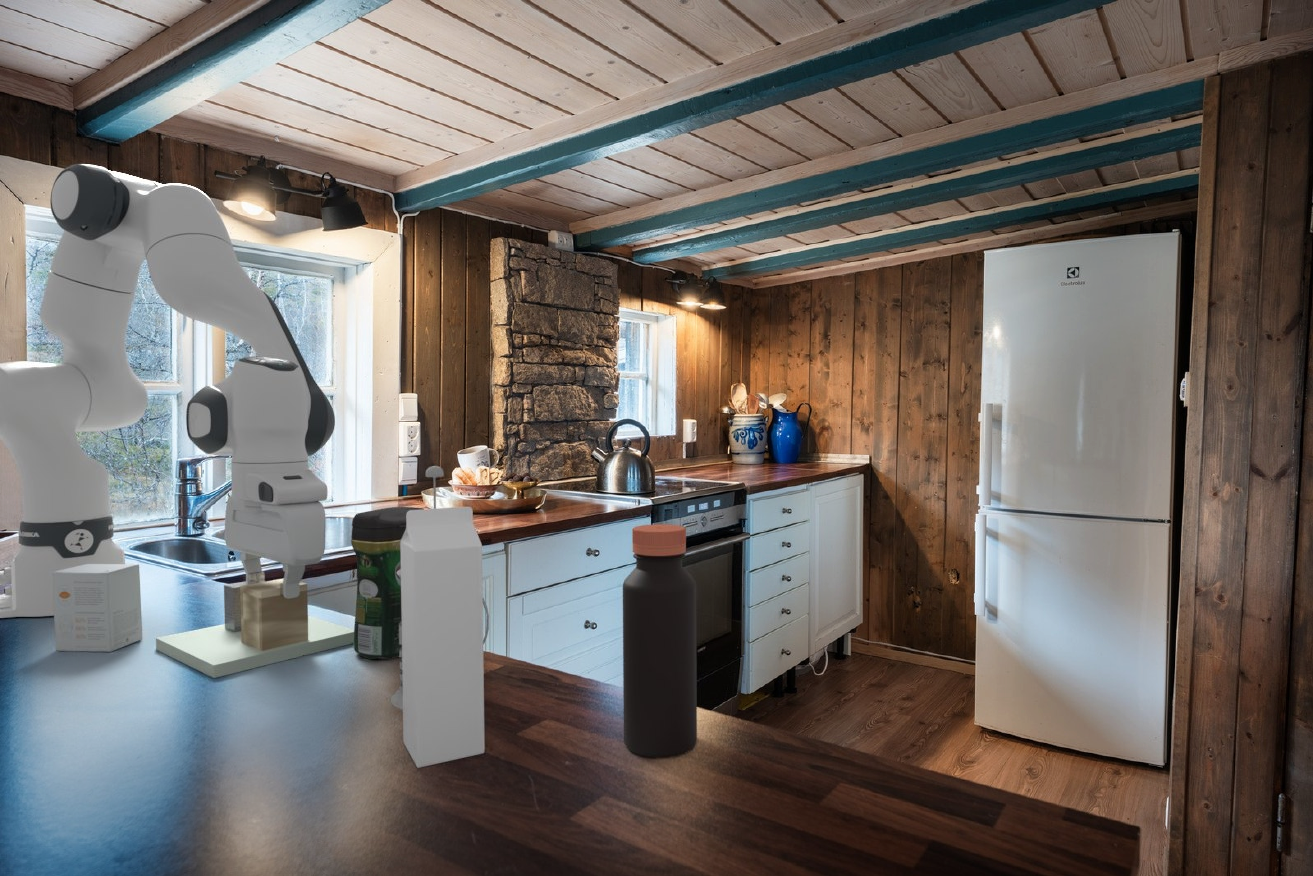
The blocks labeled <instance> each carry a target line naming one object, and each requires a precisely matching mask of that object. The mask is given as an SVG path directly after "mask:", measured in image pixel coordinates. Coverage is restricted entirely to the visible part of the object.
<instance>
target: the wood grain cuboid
mask: <svg viewBox="0 0 1313 876" xmlns="http://www.w3.org/2000/svg"><path fill="white" fill-rule="evenodd" d="M283 580H284V577H283V578H277V579H273V580H267V581H266V580H265V582H260V583H254V584H248V585H242V586H240V595H241V641H242V643H244V644H247V645H249V646H252V647H254V648H257V649H259V650H261V651H264V650H268V649H273V648H277V647H281V646H285V645H289V644H294V643H298V642H302V641H306V640H308V615H309V612H308V611H309V609H308V608H309V604H308V602H309V601H308V583H306V582H303V581H300V594H299V596H298V597H295V598H290V599H287V598H284V597H282V596H281V595H280V583H283Z"/></svg>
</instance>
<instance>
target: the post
mask: <svg viewBox="0 0 1313 876" xmlns="http://www.w3.org/2000/svg"><path fill="white" fill-rule="evenodd" d="M242 585H247V584H246V580H245V581H241V582H234V583H228V584H223V598H224V599H223V605H224V608H223V611H224V624H225V629H227V630H230V631H232V632H239V631H241V595H240V586H242Z"/></svg>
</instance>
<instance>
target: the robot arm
mask: <svg viewBox="0 0 1313 876" xmlns="http://www.w3.org/2000/svg"><path fill="white" fill-rule="evenodd" d="M49 201H50V202H49V203H50V210H51V214H52V216H53V218H54V219H55V222H56V224H57V225H58V226H59V227H60V228H61V229H62V230H64V231H63V233H62V235H61V237H60V239H59V242H58V245H57V246H56V250H55V251H54V255H53V258H52V262H51V265H50V269H49V273H48V277H47V281H46V285H45V290H44V294H43V297H42V301H41V305H40V309H39V312H38V313H39V319H40V321H41V324H42V325H43V327H44V328H45V329H46V331H48V332H49V333H50V334H51V335H52V336H54V337H55V338H57V339H58V340H60V342H61V344H62V350H63V352H62V354H63V355H62V359H61V361H60V363H57V362H45V361H44V362H43V361H42V362H41V361H29V360H28V361H25V360H19V361H7V362H0V441H1V443H3V444H4V446H5V447H6V449H8V451H9V453H10V455H11V456H12V458H13V461H14V463H15V465H16V468H17V471H18V476H19V482H20V491H21V503H22V506H21V507H22V521H20V522H19V529H18V533H17V534H18V544H20V547H19V549H18V551H17V553H16V555H15V556H14V557H13V559H12V560H11V561H10V566H9V567H3V568H4V569H3V570H0V586H5V587H4V588H3V594H0V619H4V618H16V617H19V618H21V617H25V618H26V617H28V618H29V617H34V618H35V617H50V616H51V617H53V616H54V601H53V577H52V573H53V572H55V571H59V570H63V569H68V568H72V567H76V566H80V565H85V564H126V559H125V558H126V557H125V549H124V548H123V547H121V546H120V545H117V544H116V543H115V542H114V541H113V537H114V528H115V526H114V525H115V523H114V520H113V519H114V518H113V516H112V515H111V514H110V489H109V488H110V484H109V482H110V481H109V473H108V470H107V468H106V467H105V465H104V464H103V463H101V462H100V461H99V460H98V459H95V458H93V457H90V456H88V455H87V454H86V453H85V451H84V450H83V449H82V447H81V445H80V443H79V440H78V438H77V433H83V432H84V433H85V432H89V433H90V432H108V431H111V430H117V429H122V428H124V427H129V426H132V425H134V424H136V423H137V422H139V421H140V420H141V419H142V418H143V417H144V414H145V412H146V411H147V408H148V403H149V402H148V400H149V398H148V390H147V389H146V387H145V384H144V382H143V381H142V380H141V379H140V378H139V376H137V374H136V373H135V372H134V370H133V369H132V367H131V365H130V361H129V359H128V356H127V355H128V354H127V347H126V335H127V330H128V326H129V325H128V324H129V319H130V315H131V310H132V307H133V302H134V299H135V294H136V290H137V286H138V281H139V276H140V272H141V271H140V270H141V267H142V265H143V264H144V262H145V261H146V265H147V268H148V272H149V277H150V279H151V282H152V284H153V287H154V289H155V291H156V292H157V294H158V295H159V297H160V298H161V300H163V302H164V303H165V304H166V305H167V306H169V307H170V308H171V309H173V310H174V311H176V312H177V313H178V314H180V315H182V316H185V317H187V318H189V319H192V320H194V321H196V322H201V323H204V324H207V325H209V326H212V327H215V328H218V329H220V330H223V331H225V332H227V333H230V334H232V335H234V336H235V337H237V338H239V339H240V340H242V341H244V343H247V345H249V346H250V347H251V348H252V350H254V352H255V354H256V356H245V357H244V356H243V357H242V358H238V359H237V360H236V361H235V362H234V364H233V367H232V371H231V373H230V374H229V375H227V377H225V378H224V379H222V380H220V381H219V382H216V383H215V384H212V385H206V386H204V387H202V388H200V389H199V390H198V391H197V392H196V393H195V394H194V395H193V396H192V397H191V399H190V400H189V401H188V402H187V406H186V415H185V417H186V418H185V419H186V420H185V421H186V422H185V424H186V433H187V436H188V439H189V440H190V441H191V442H192V443H193V445H195V446H196V447H197V448H198V449H199V450H200V451H202V452H203V453H205V454H207V455H214V456H218V457H229V456H230V457H231V461H230V462H231V463H230V467H231V471H230V472H231V477H230V478H231V494H230V496H229V497H228V498H227V501H226V505H225V506H226V507H225V517H224V542H225V545H226V548H227V549H229V550H232V551H237V552H240V560H241V564H242V567H243V570H244V572H245V581H246V584H247V585H248V584H254V583H260V582H266V580H265V578H266V577H265V572H264V571H263V569H262V564H261V559H262V558H263V559H266V560H270V561H274V562H278V563H281V564H282V571H283V572H284V576H283V578H284V580H283V583H280V595H281V596H282V597H284V598H287V599H290V598H295V597H298V596H299V594H300V582H302V578H303V576H304V573H305V571H306V567H305V566H308V565H315V564H319V563H320V562H321V561H322V559H323V556H324V554H325V550H326V530H327V529H326V525H327V524H326V511H325V507H324V505H323V503H322V501H326V500H327V499H328V493H329V492H328V485H327V484H326V483H325V482H324V481H323V480H322V479H320V478H318V477H317V476H316V475H315V474H314V472H313V471H312V470H311V469H309V457H311V456H313V455H315V454H316V453H317V452H319V451H320V450H321V449H322V448H323V447H324V446H325V445H326V443H327V442H328V441H329V440H330V439H331V437H332V435H333V434H334V430H335V428H336V427H335V426H336V417H335V412H334V408H333V406H332V404H331V402H330V401H329V399H328V397H327V395H326V394H325V393H324V391H323V390H322V389H321V387H320V386H319V384H317V382H316V380H315V379H314V377H313V375H312V374H311V371H310V369H309V368H308V366H307V363H306V361H305V359H304V357H303V354H302V353H301V350H300V349H299V347H298V345H297V343H296V340H295V339H294V336H293V335H292V332H291V331H290V329H289V327H288V325H287V322H286V321H285V319H284V316H283V314H282V313H281V311H280V309H279V308H278V305H277V304H276V302H275V301H274V300H273V298H272V297H270V295H268V294H267V293H266V292H265V291H263V290H262V289H261V288H259V287H258V286H257V285H256V283H255V282H254V281H253V280H252V279H251V278H250V277H249V275H248V274H247V272H246V271H245V270H244V268H243V267H242V266H241V263H240V262H239V260H238V258H237V255H236V252H235V250H234V246H233V243H232V240H231V237H230V235H229V232H228V230H227V227H226V225H225V223H224V221H223V218H222V216H221V215H220V212H219V211H218V210H217V207H216V206H215V204H214V203H213V201H212V200H211V198H210V197H209V196H208V195H207V194H206V193H204V192H203V191H202V190H200V189H199V188H197V187H195V186H191V185H188V184H183V183H166V184H162V183H159V182H156V181H154V180H150V179H143V178H140V177H137V176H133V175H129V174H126V173H122V172H117V171H114V170H113V171H111V170H108V169H107V168H106V167H104V166H101V165H100V166H98V165H94V164H85V163H74V164H71V165H69V166H68V167H66V168H65V169H63V170H61V171H60V172H59V174H57V176H56V178H55V180H54V183H53V184H52V188H51V192H50V200H49ZM6 585H9V586H6Z"/></svg>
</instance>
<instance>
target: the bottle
mask: <svg viewBox="0 0 1313 876" xmlns="http://www.w3.org/2000/svg"><path fill="white" fill-rule="evenodd" d="M631 529H632V532H631V533H632V534H631V535H632V552H633V553H634V554H633V556H632V557H633V558H634V559H635V562H636V563H635V566H636V567H635V568H633V570H632V571H631V572H630V573H629V574H628V575H627V576H626V578H625V579H624V581H623V584H622V643H623V644H622V666H623V668H622V671H623V673H622V674H623V675H622V677H623V678H622V679H623V681H622V683H623V684H622V685H623V687H622V688H623V691H622V692H623V694H622V695H623V696H622V697H623V742H624V744H625V745H624V746H626V749H628V750H629V751H631V752H632V753H634V754H635V755H639V756H641V757H647V758H654V759H657V758H658V759H663V758H665V759H667V758H668V759H669V758H674V757H675V758H676V757H678V756H682V755H684V754H686V753H688V752H690V751H692V749H694V747H695V746H696V744H697V743H698V742H697V741H698V733H697V732H698V718H697V717H698V714H697V710H698V709H697V706H698V705H697V704H698V703H697V701H698V699H697V698H698V697H697V691H698V690H697V688H698V687H697V685H698V683H697V681H698V680H697V678H698V677H697V666H698V665H697V663H698V662H697V659H698V658H697V584H696V581H695V579H694V578H693V577H692V575H691V574H690V573H689V572H688V571H687V570H686V569H685V568H684V567H683V559H684V558H686V551H687V549H686V548H687V533H686V532H687V528H685V526H683V525H682V526H681V525H677V524H675V525H674V524H663V523H662V524H661V523H656V524H655V523H654V524H644V525H643V524H642V525H637V526H635V527H633V528H631Z"/></svg>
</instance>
